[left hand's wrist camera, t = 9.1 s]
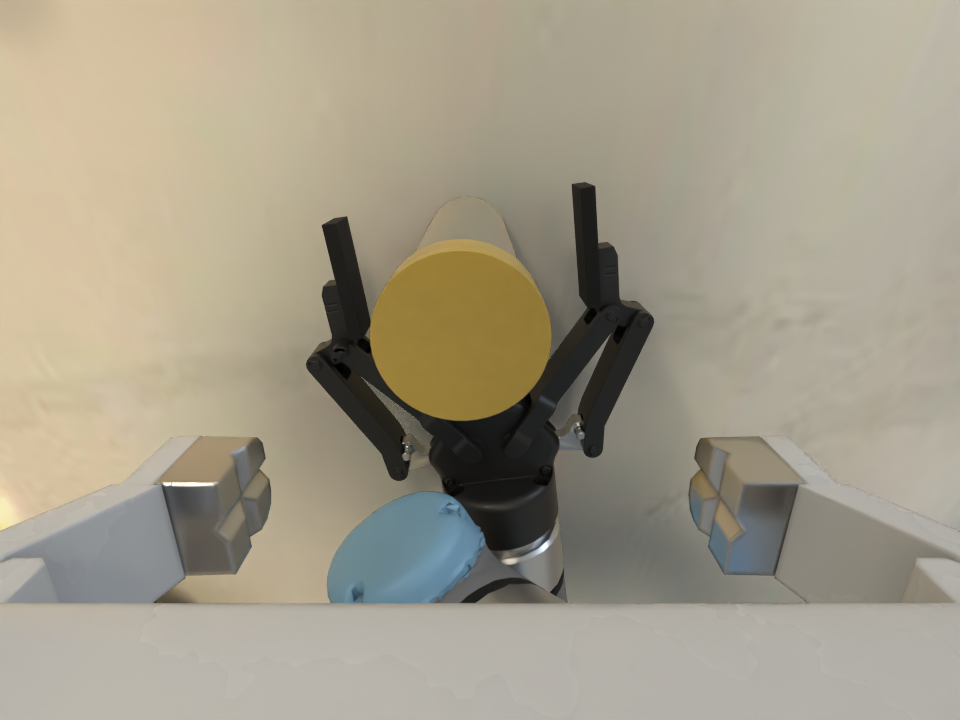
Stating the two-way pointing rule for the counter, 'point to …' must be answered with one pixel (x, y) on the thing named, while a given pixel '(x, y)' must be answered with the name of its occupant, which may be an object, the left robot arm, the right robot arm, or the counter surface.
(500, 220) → the jar
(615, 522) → the counter surface
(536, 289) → the lid
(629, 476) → the counter surface
